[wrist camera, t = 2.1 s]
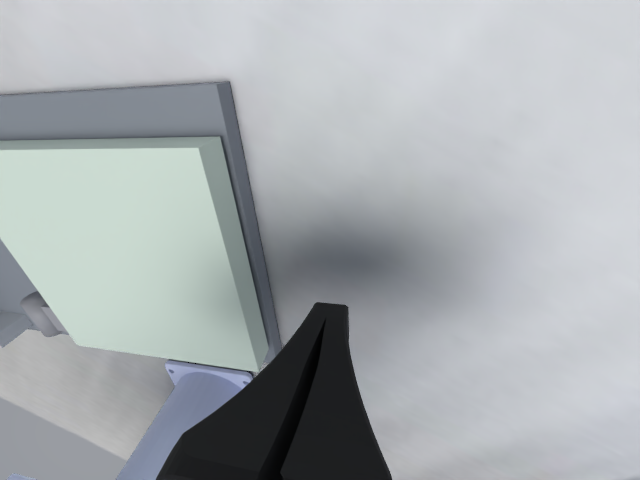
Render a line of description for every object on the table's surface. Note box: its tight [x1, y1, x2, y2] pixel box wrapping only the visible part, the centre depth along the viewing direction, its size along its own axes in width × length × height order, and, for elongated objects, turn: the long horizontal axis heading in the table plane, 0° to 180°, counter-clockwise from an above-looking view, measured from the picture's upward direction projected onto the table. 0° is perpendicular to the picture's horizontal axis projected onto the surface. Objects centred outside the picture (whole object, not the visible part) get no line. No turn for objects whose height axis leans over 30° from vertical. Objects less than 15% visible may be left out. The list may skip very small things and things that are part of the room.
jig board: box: [0, 82, 282, 363], centre depth 19 cm, size 18×26×4 cm
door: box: [0, 136, 269, 372], centre depth 18 cm, size 14×17×2 cm
